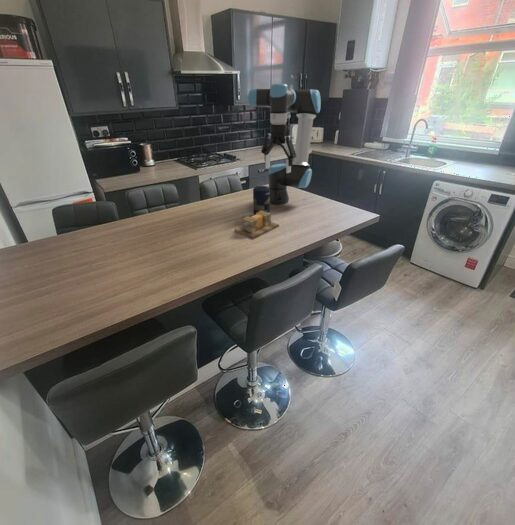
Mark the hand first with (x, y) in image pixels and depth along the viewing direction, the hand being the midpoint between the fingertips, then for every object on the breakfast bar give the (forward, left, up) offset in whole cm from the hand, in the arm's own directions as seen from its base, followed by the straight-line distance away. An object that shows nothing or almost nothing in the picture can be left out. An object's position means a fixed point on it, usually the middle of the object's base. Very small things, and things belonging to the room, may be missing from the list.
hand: (277, 170), depth 145 cm
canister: (-4, -15, -30) cm, 34 cm away
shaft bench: (+11, -5, -30) cm, 32 cm away
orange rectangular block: (+11, -5, -28) cm, 31 cm away
